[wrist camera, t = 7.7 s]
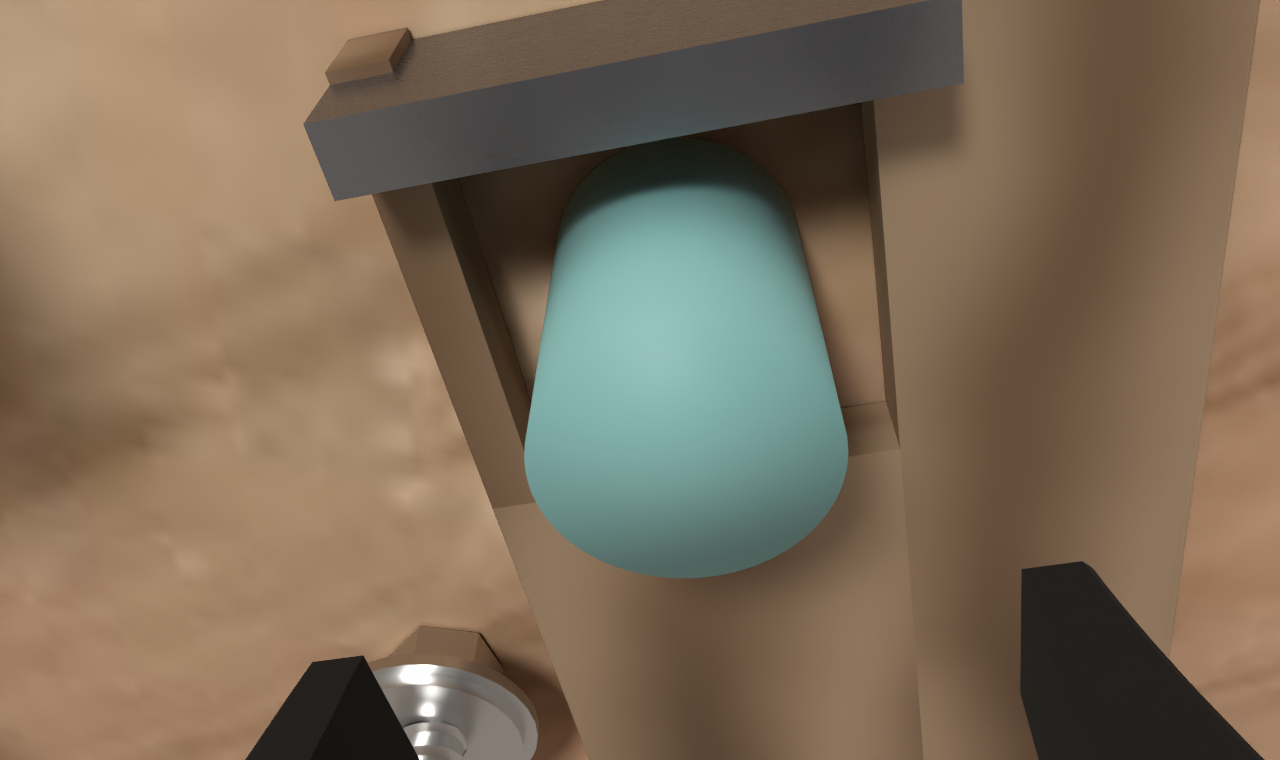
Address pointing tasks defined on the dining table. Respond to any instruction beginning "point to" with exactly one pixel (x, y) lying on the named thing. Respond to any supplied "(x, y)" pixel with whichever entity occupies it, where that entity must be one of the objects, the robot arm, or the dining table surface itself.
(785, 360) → the teal rounded capsule
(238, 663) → the dining table surface
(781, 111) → the hook bar
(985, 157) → the shelf board
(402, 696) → the screw
